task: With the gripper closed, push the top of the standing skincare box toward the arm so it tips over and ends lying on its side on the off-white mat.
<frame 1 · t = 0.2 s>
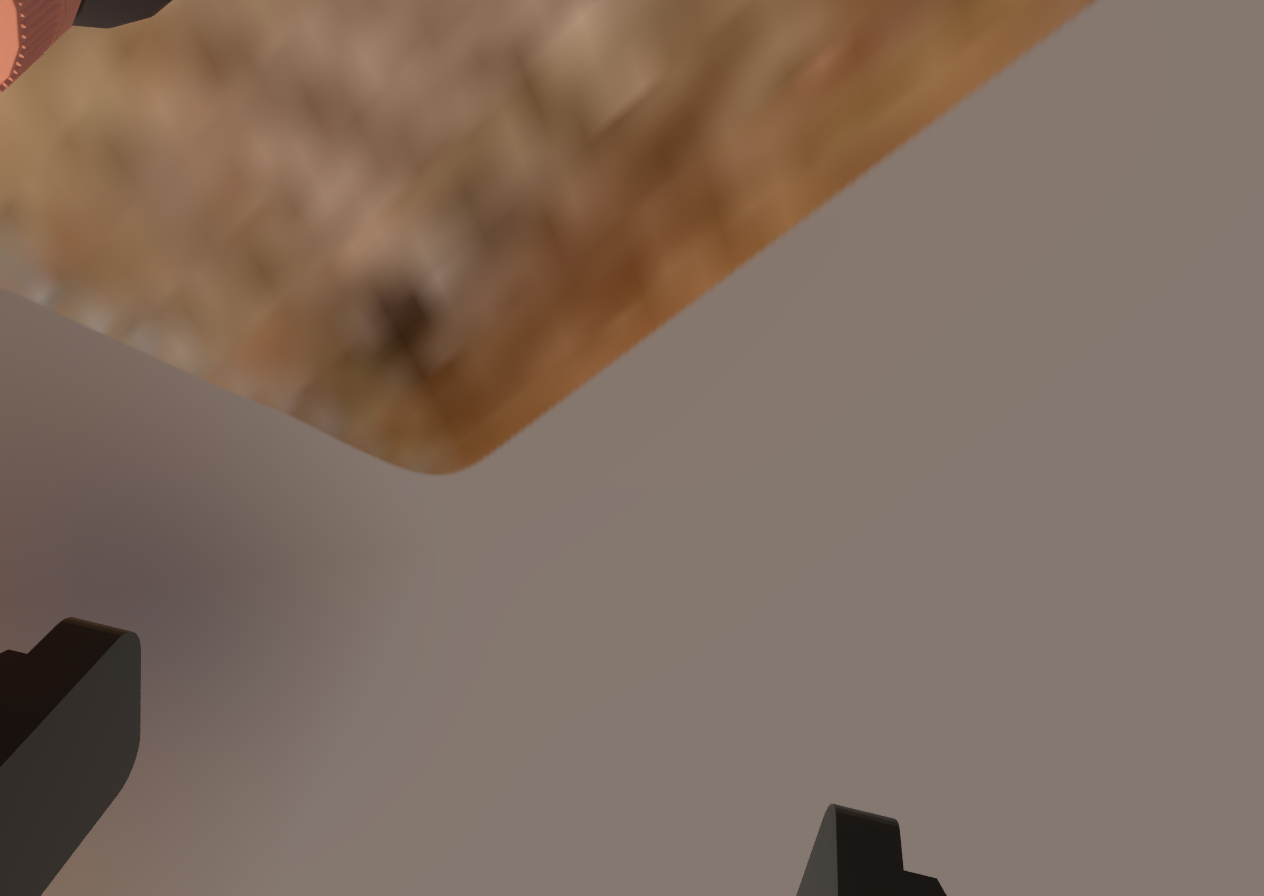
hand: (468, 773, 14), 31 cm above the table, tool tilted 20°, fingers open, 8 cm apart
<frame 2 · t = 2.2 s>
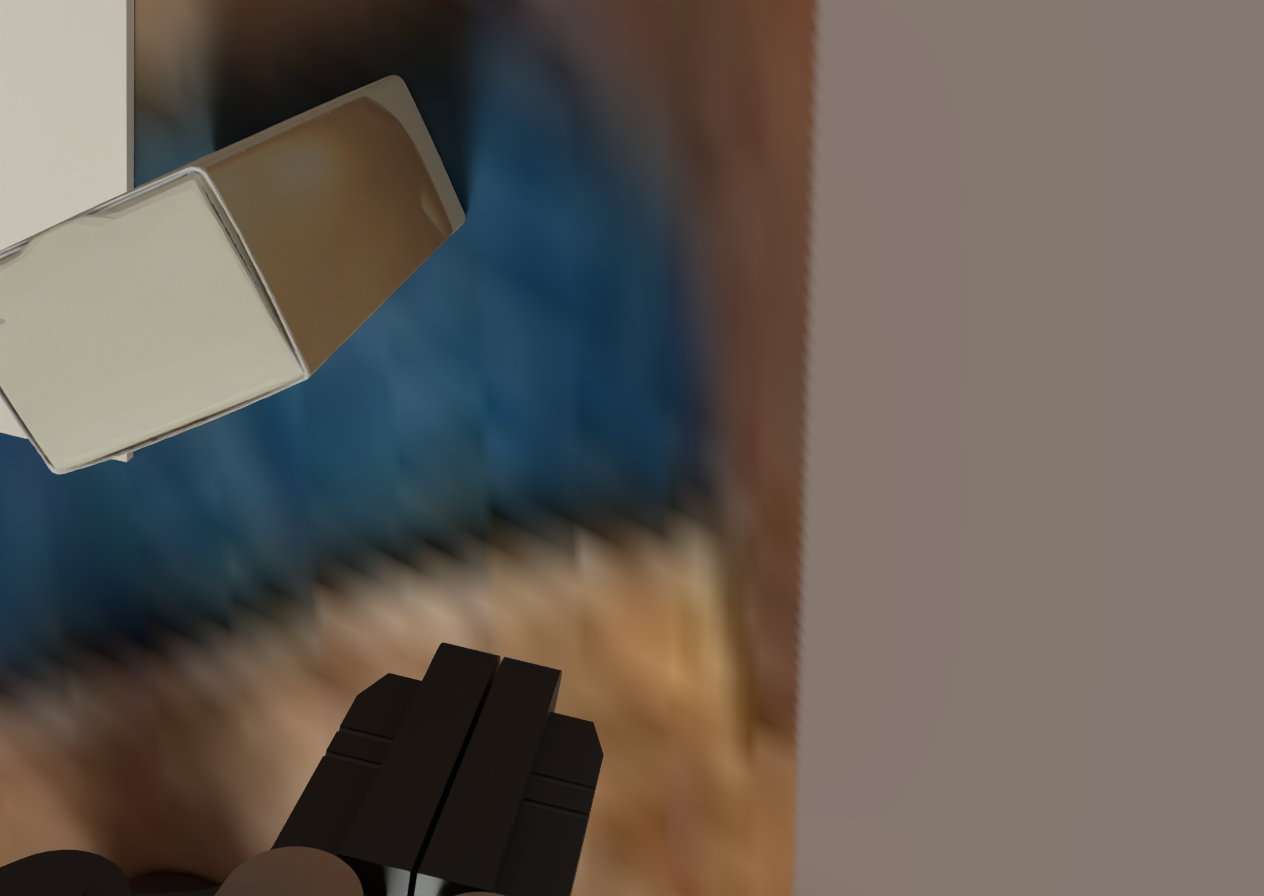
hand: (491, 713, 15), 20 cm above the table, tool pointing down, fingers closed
skincare box: (347, 184, 33), on the table
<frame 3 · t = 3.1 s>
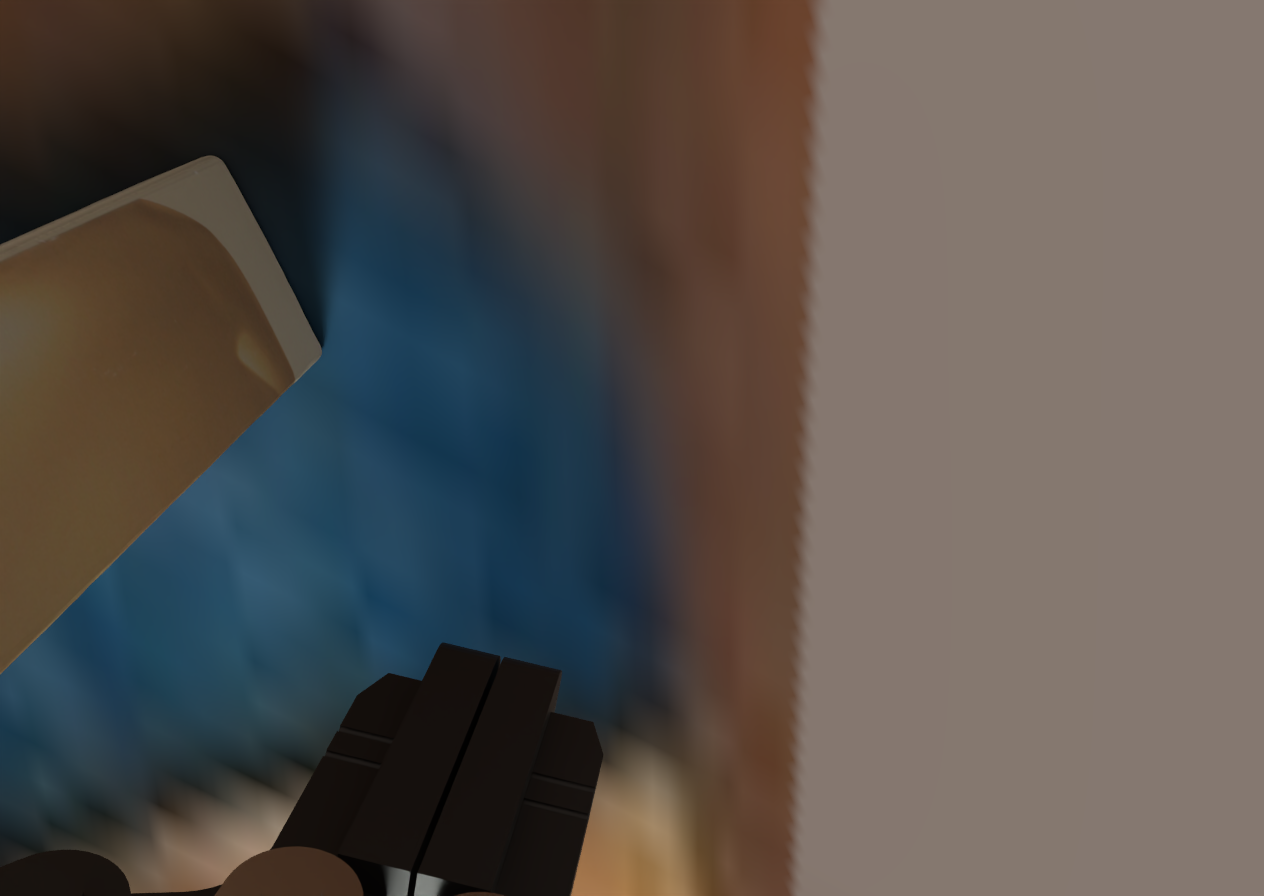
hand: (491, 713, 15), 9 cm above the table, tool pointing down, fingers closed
skincare box: (158, 302, 23), on the table
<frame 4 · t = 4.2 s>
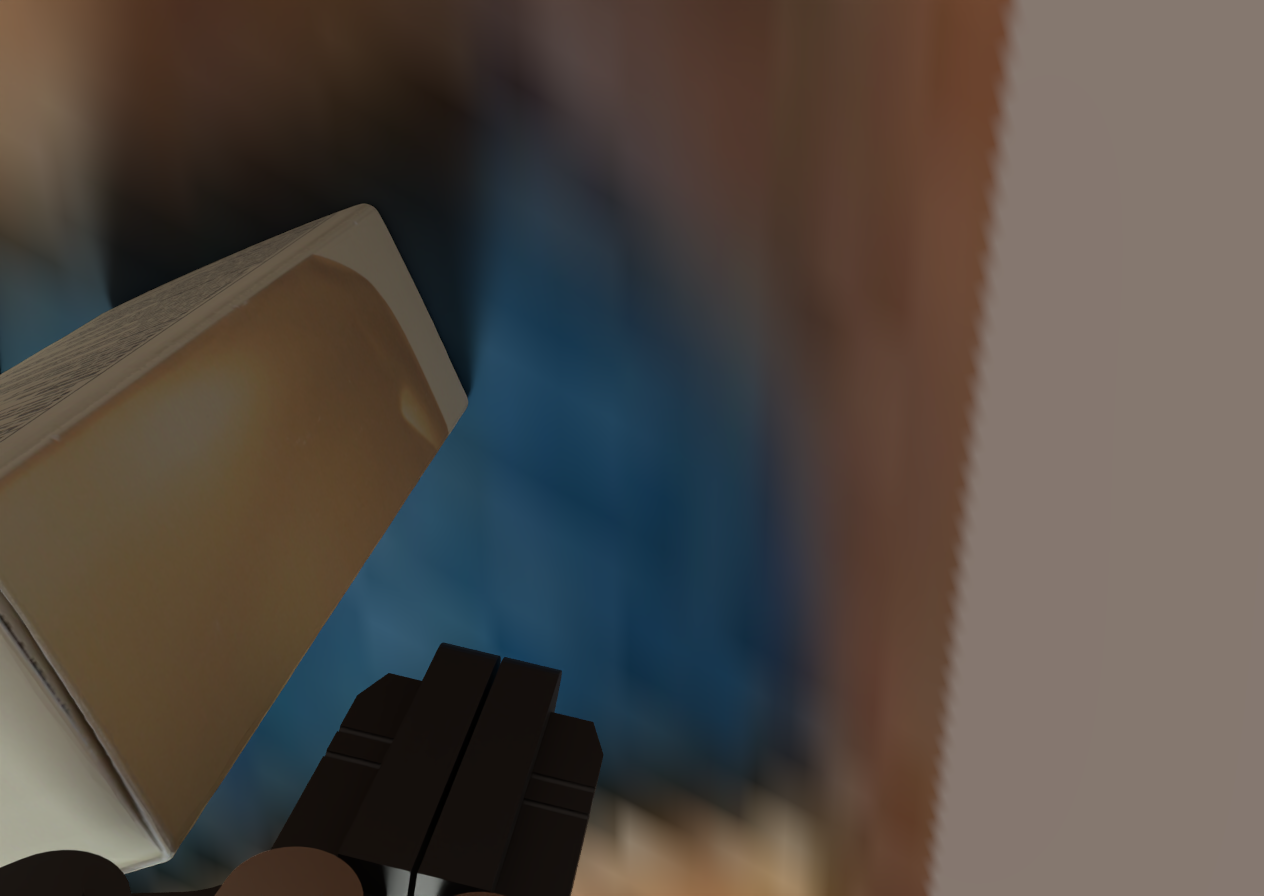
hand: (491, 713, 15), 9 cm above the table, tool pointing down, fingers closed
skincare box: (299, 349, 23), on the table, touching gripper
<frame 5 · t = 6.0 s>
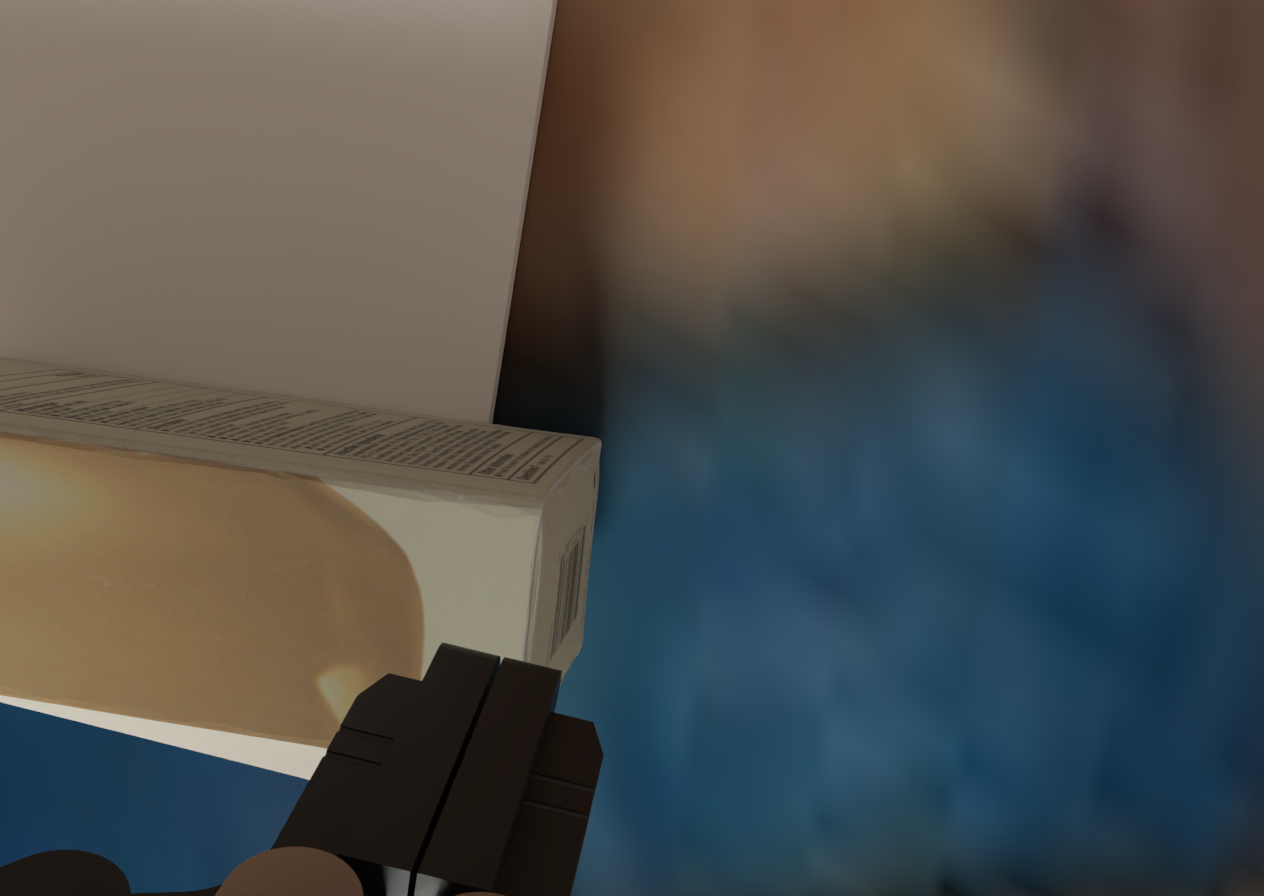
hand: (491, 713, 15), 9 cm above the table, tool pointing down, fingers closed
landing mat: (117, 312, 23), on the table
skincare box: (581, 591, 19), point 4 cm above the table, touching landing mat
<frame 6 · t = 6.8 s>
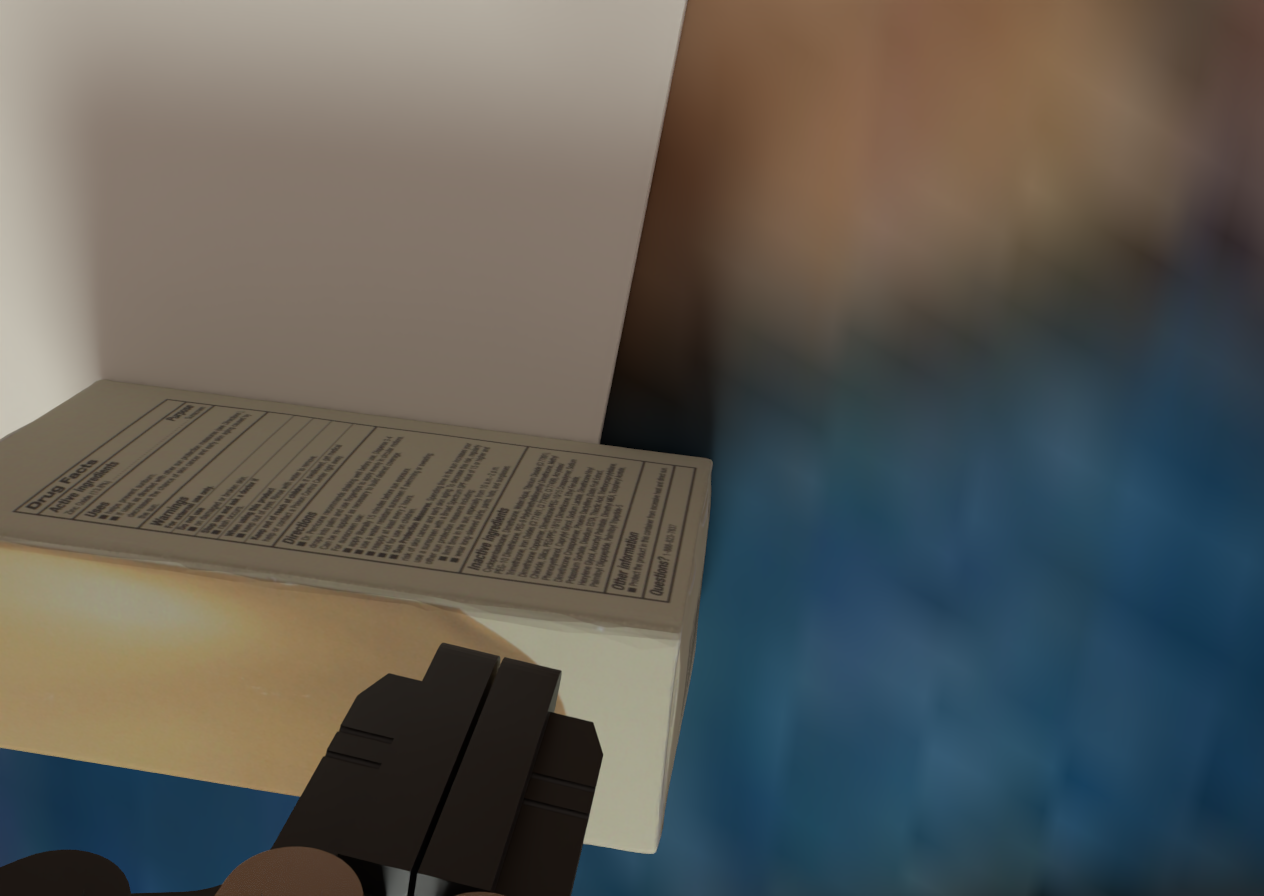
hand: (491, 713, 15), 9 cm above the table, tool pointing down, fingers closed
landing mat: (223, 331, 23), on the table
skincare box: (705, 646, 20), point 4 cm above the table, touching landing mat
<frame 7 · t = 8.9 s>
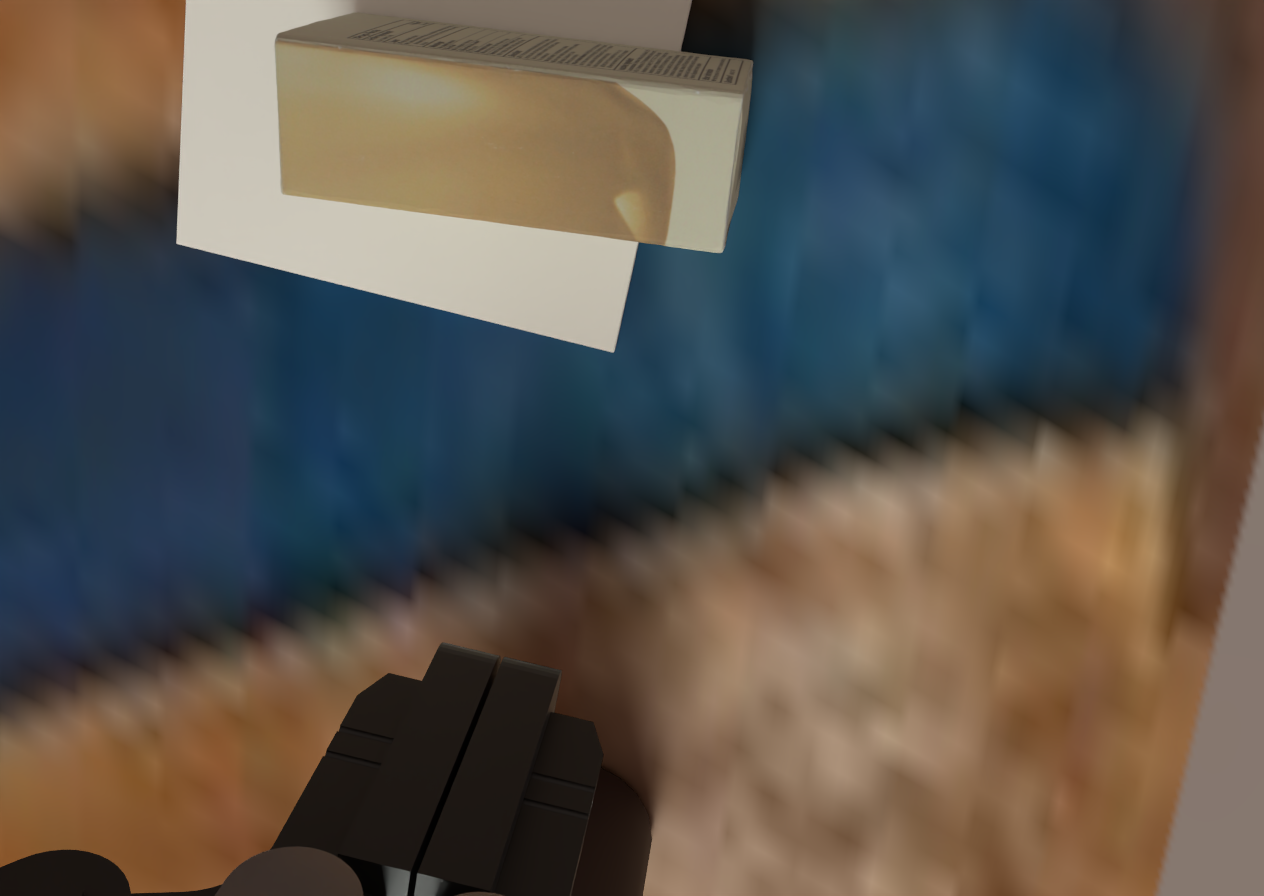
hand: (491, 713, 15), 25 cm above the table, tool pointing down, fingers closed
skincare box: (750, 154, 33), point 4 cm above the table, touching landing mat
vinegar: (571, 816, 49), on the table
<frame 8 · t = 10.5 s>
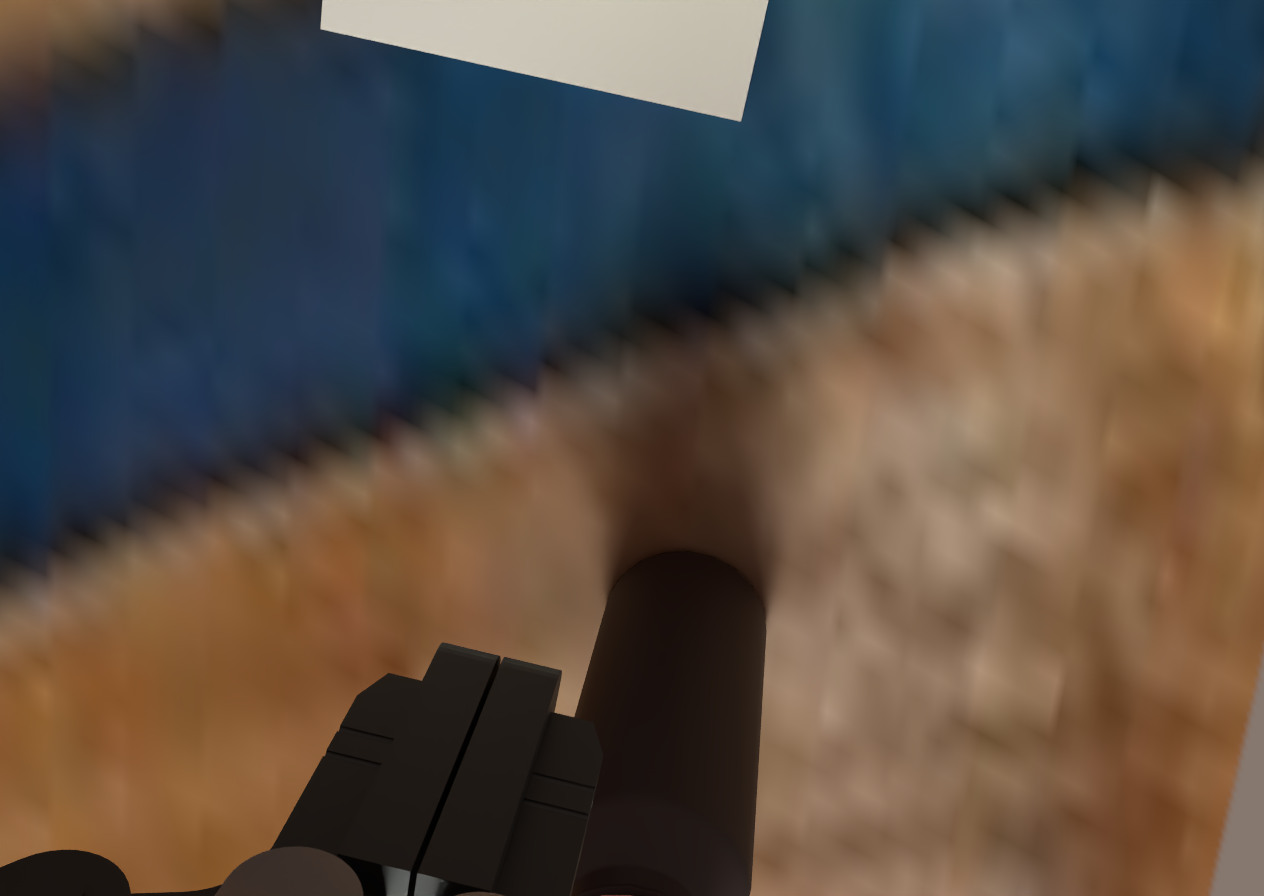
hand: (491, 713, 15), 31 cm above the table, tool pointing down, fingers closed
vinegar: (686, 614, 51), on the table
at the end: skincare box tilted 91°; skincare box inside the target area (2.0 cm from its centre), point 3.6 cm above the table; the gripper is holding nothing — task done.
